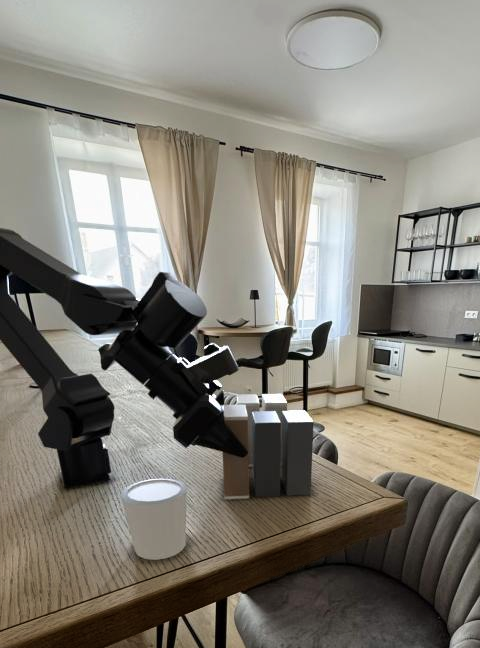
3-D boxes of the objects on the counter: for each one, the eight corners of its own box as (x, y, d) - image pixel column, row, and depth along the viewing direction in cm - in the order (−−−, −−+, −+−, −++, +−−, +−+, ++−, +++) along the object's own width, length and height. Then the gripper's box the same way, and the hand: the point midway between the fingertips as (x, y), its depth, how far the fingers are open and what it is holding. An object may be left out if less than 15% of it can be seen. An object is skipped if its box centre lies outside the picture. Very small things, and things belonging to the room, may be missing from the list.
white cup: (202, 536, 49) (198, 482, 46) (169, 568, 43) (163, 508, 40) (153, 526, 51) (147, 474, 48) (115, 555, 45) (106, 498, 42)
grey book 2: (287, 495, 59) (288, 422, 55) (281, 478, 65) (282, 410, 61) (310, 494, 60) (313, 421, 56) (302, 477, 66) (305, 410, 62)
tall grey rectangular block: (255, 497, 59) (255, 423, 55) (252, 479, 65) (251, 411, 61) (280, 496, 59) (280, 422, 55) (275, 478, 65) (275, 411, 61)
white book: (265, 466, 70) (265, 402, 66) (262, 452, 77) (261, 394, 73) (286, 465, 71) (287, 402, 67) (280, 452, 77) (281, 393, 73)
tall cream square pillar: (224, 499, 58) (220, 417, 54) (224, 480, 64) (221, 404, 60) (249, 498, 58) (247, 416, 54) (246, 479, 65) (245, 404, 60)
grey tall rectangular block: (239, 467, 70) (237, 403, 66) (238, 453, 76) (236, 394, 72) (260, 466, 70) (259, 403, 66) (256, 452, 76) (256, 394, 72)
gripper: (195, 327, 44) (295, 424, 49) (203, 320, 61) (276, 393, 66) (127, 401, 46) (231, 487, 51) (153, 375, 63) (229, 441, 68)
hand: (244, 446), depth 59 cm, fingers closed on tall cream square pillar, 7 cm apart
